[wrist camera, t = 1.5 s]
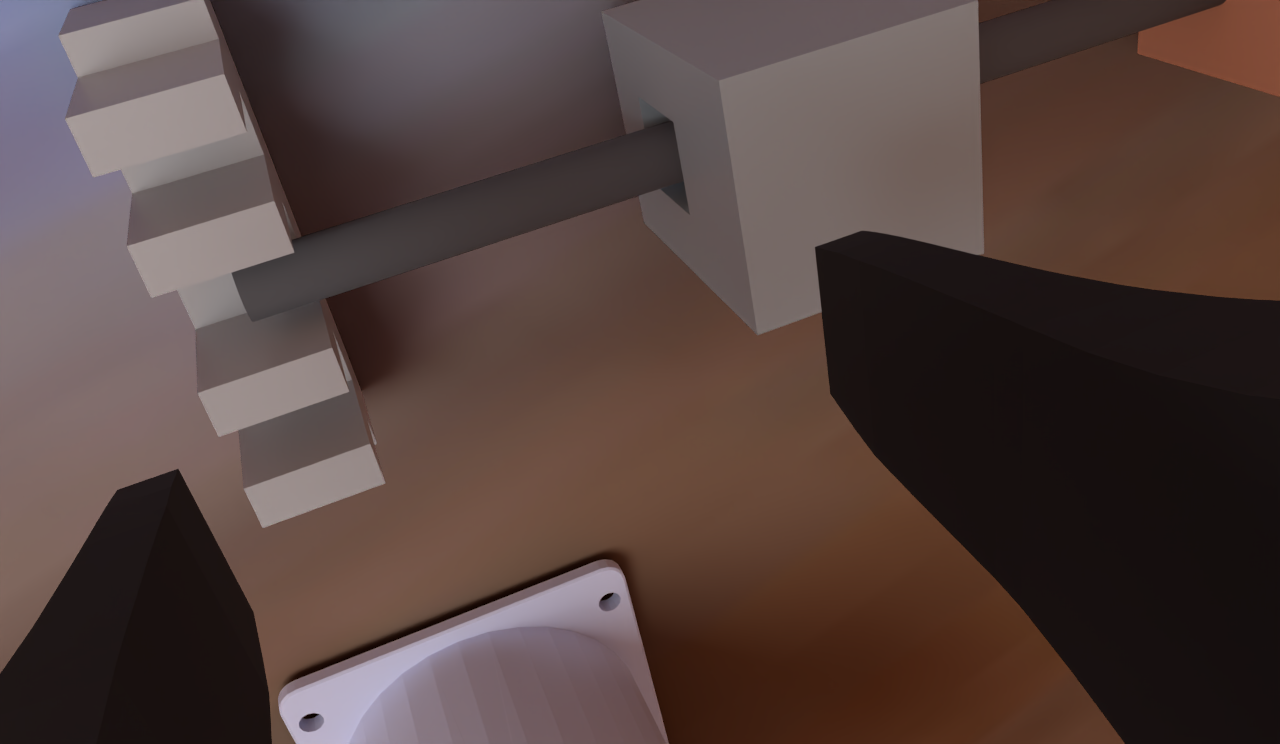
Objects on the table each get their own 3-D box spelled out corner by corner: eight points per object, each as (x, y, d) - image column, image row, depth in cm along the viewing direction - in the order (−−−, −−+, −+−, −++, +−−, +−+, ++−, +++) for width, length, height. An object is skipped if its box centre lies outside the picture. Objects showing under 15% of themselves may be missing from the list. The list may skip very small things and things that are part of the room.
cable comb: (260, 427, 21) (276, 556, 18) (69, 9, 17) (42, 72, 14) (361, 392, 22) (397, 511, 18) (200, -26, 18) (205, 28, 14)
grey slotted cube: (644, 223, 21) (757, 335, 17) (601, 11, 19) (718, 80, 15) (831, 160, 22) (984, 253, 18) (810, -50, 20) (977, -1, 16)
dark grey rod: (275, 340, 19) (292, 444, 16) (192, 146, 17) (195, 225, 15) (1255, 14, 24) (1410, 50, 21) (1275, -170, 22) (1449, -160, 19)
